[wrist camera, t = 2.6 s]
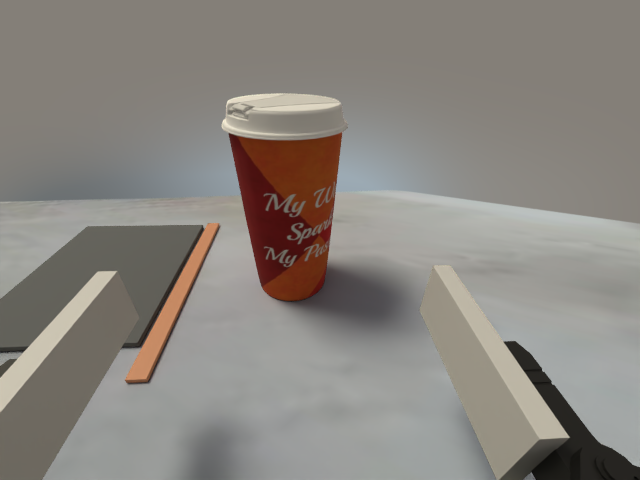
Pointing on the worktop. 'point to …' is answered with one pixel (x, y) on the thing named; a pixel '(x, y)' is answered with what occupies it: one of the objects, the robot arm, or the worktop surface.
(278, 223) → the paper cup
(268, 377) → the worktop surface
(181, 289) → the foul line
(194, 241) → the mat
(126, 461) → the worktop surface
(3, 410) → the robot arm
